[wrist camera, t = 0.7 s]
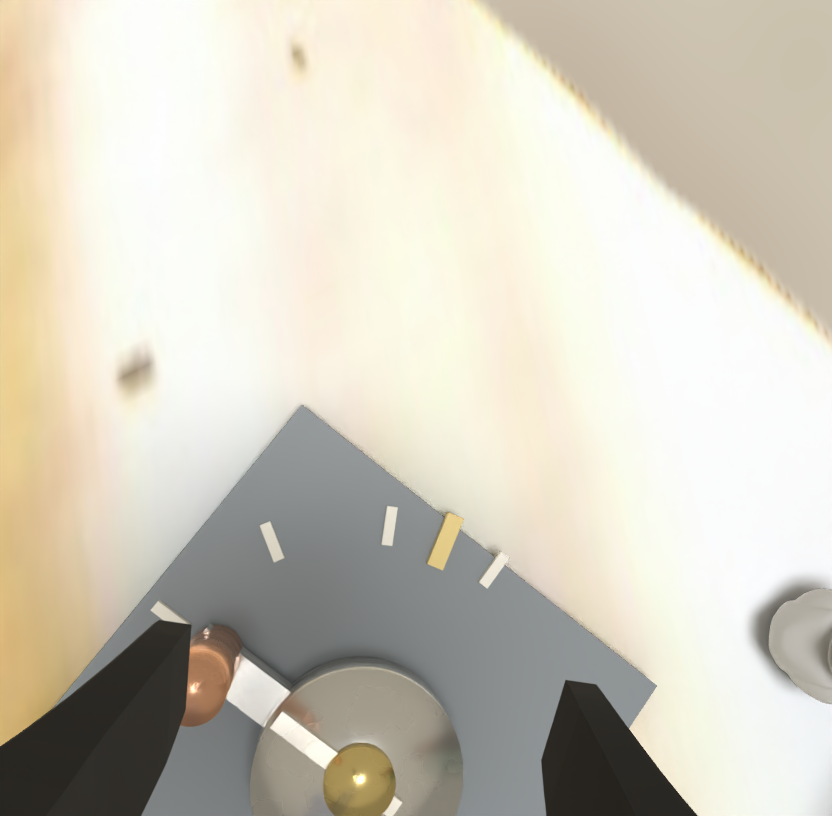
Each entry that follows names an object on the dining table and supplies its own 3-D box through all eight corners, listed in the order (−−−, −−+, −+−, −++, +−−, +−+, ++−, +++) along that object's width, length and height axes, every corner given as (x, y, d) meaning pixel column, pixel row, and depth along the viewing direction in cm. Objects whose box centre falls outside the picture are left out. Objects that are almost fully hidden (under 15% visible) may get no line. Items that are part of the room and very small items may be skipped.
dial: (492, 734, 32) (528, 789, 26) (372, 905, 30) (384, 1002, 25) (259, 553, 31) (246, 572, 25) (125, 721, 29) (81, 779, 24)
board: (416, 1022, 31) (421, 1051, 30) (31, 738, 30) (14, 753, 29) (650, 669, 34) (666, 679, 33) (309, 399, 33) (308, 395, 32)
